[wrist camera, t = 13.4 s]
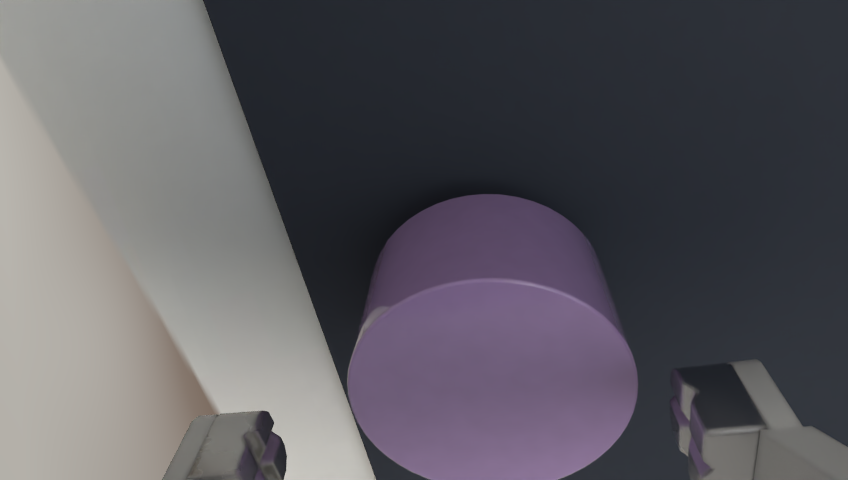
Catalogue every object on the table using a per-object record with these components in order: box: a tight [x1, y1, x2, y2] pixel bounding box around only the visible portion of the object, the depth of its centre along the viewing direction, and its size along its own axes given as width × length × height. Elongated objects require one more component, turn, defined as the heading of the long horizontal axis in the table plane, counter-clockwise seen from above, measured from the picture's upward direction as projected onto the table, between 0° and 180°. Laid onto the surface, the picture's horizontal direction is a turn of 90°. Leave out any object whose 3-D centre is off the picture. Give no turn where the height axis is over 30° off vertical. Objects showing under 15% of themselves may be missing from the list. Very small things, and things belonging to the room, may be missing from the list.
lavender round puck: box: [347, 194, 639, 480], centre depth 14 cm, size 6×6×5 cm
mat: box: [203, 0, 848, 480], centre depth 14 cm, size 20×26×1 cm
